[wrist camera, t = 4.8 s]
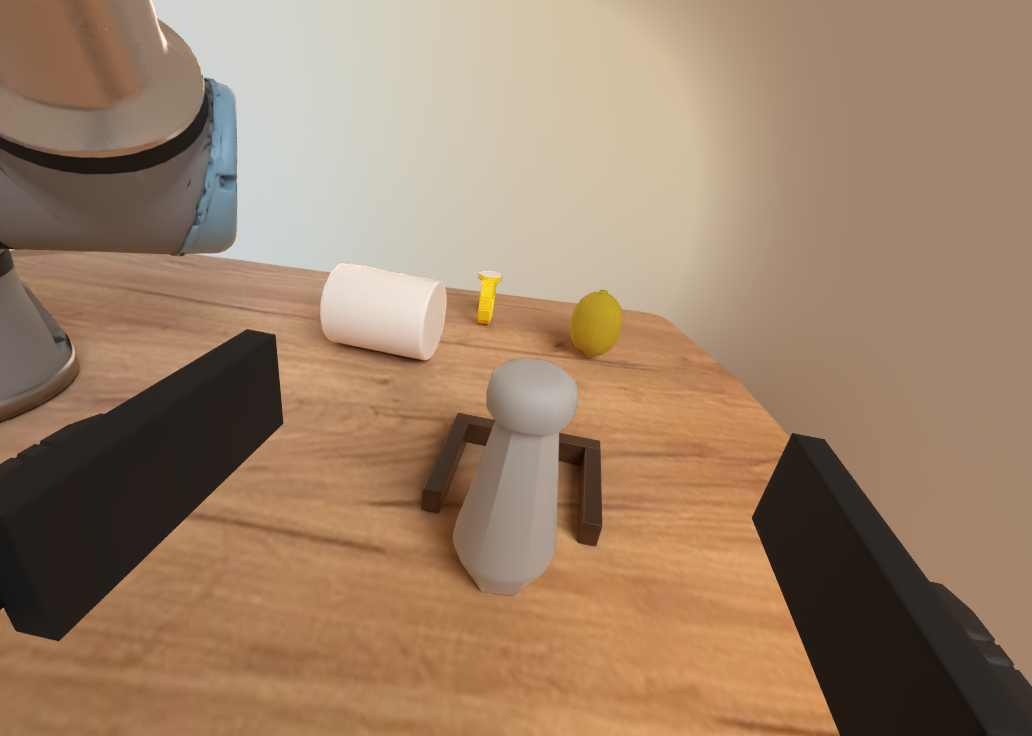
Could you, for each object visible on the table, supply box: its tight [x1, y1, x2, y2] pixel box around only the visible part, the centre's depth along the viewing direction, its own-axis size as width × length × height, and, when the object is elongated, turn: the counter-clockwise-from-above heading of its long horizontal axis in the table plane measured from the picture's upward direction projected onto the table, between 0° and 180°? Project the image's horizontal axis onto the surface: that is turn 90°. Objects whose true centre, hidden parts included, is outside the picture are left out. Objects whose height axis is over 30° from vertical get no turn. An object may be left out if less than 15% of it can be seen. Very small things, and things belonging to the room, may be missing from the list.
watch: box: [478, 271, 502, 324], centre depth 60 cm, size 6×3×6 cm, turn 177°
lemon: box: [570, 290, 622, 358], centre depth 54 cm, size 6×6×8 cm
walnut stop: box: [421, 413, 602, 546], centre depth 35 cm, size 11×9×2 cm
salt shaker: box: [453, 358, 578, 596], centre depth 26 cm, size 6×6×13 cm
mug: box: [320, 263, 446, 361], centre depth 51 cm, size 12×10×8 cm
